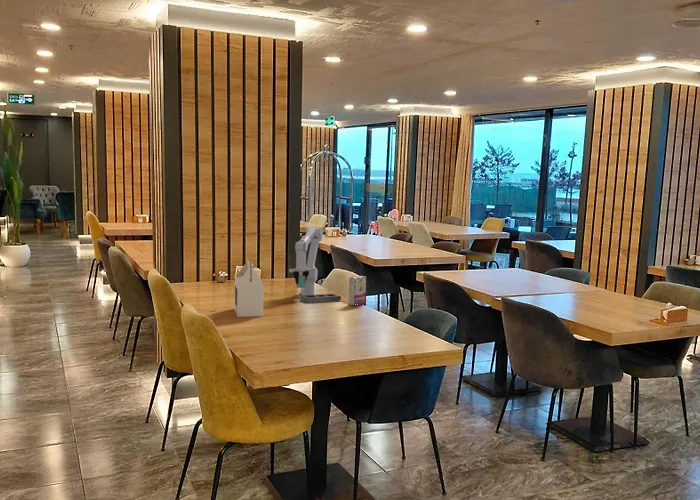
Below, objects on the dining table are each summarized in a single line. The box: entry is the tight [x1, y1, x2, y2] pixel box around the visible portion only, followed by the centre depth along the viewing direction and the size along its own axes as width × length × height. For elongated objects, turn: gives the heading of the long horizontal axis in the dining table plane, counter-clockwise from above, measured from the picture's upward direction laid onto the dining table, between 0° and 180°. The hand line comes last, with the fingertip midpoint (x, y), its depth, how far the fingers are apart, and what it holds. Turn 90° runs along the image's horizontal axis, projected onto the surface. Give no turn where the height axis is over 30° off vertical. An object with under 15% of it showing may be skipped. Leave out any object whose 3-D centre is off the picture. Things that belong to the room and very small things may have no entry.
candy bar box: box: [348, 275, 367, 306], centre depth 370 cm, size 11×5×16 cm, turn 143°
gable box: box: [233, 258, 265, 318], centre depth 337 cm, size 22×13×28 cm, turn 15°
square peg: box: [295, 274, 305, 289], centre depth 381 cm, size 4×4×7 cm
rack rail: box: [300, 293, 342, 304], centre depth 379 cm, size 10×22×3 cm, turn 118°
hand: (300, 283), depth 382 cm, fingers closed on square peg, 4 cm apart
